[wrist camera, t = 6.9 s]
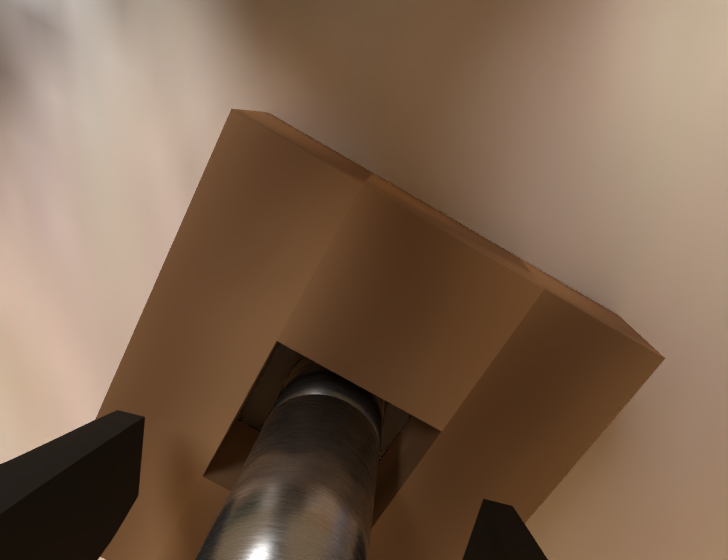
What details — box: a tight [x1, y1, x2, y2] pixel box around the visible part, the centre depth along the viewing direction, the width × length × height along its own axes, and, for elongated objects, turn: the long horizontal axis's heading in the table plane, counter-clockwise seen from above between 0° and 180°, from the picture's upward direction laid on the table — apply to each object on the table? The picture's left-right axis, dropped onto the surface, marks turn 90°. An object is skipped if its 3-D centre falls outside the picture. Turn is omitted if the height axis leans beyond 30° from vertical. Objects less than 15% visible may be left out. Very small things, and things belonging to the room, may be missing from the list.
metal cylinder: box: [195, 356, 385, 560], centre depth 11 cm, size 3×3×8 cm
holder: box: [95, 109, 665, 560], centre depth 13 cm, size 10×12×2 cm
